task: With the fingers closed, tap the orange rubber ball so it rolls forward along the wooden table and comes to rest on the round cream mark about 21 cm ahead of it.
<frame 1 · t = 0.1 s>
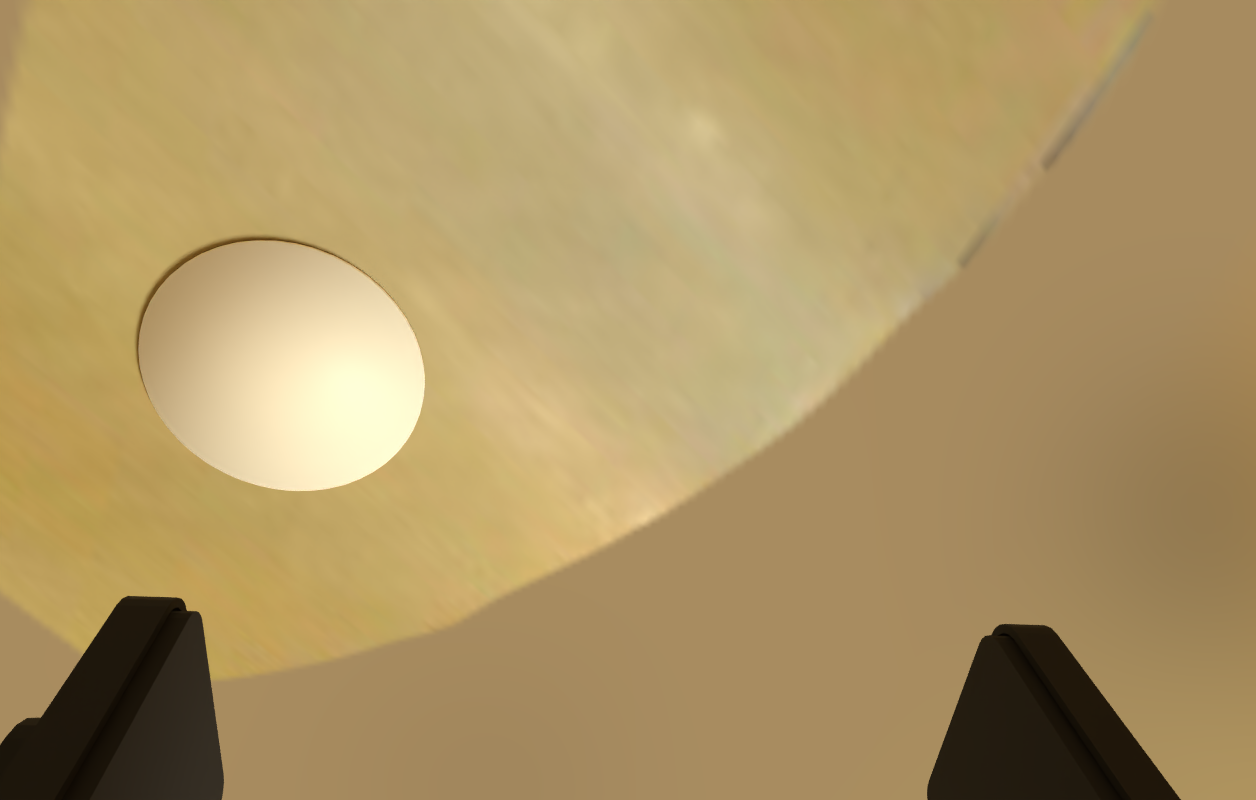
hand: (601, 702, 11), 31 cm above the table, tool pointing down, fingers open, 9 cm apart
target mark: (285, 373, 42), on the table
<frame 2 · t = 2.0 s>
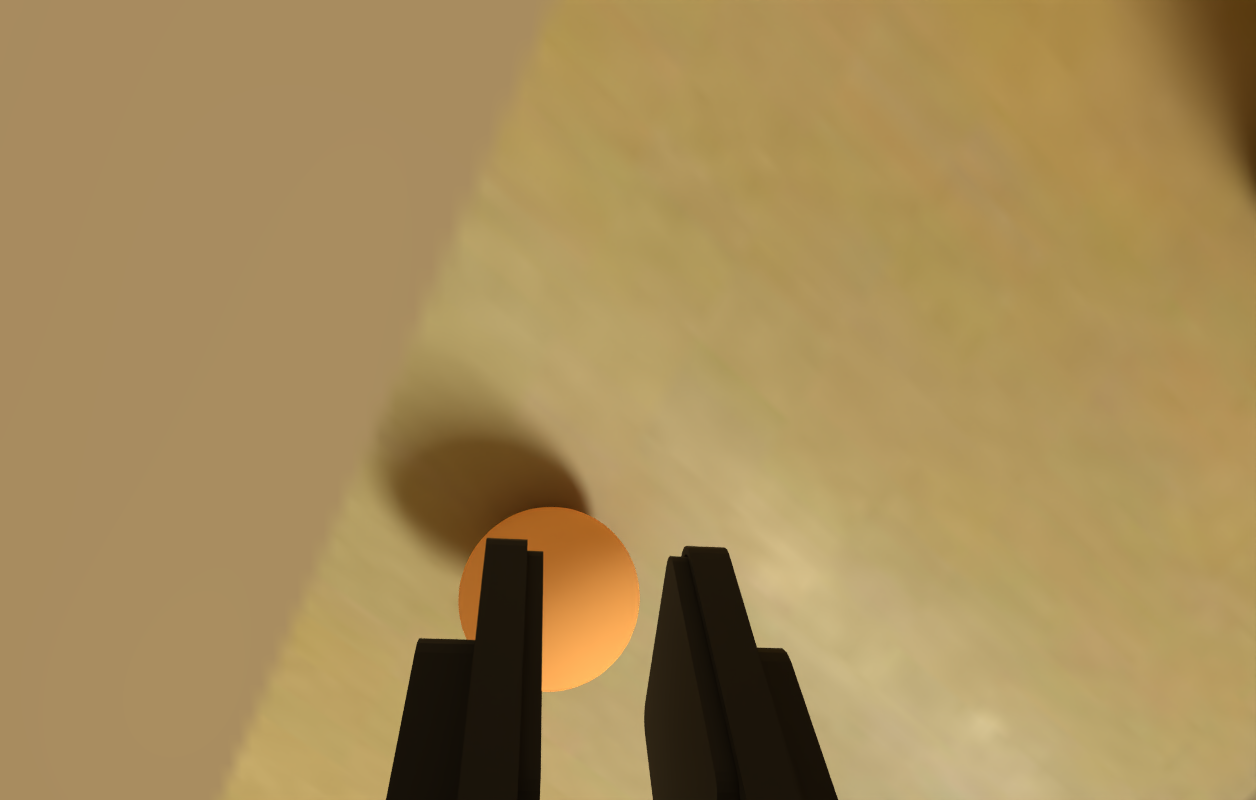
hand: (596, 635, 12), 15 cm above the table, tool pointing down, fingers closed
ball: (549, 597, 27), on the table
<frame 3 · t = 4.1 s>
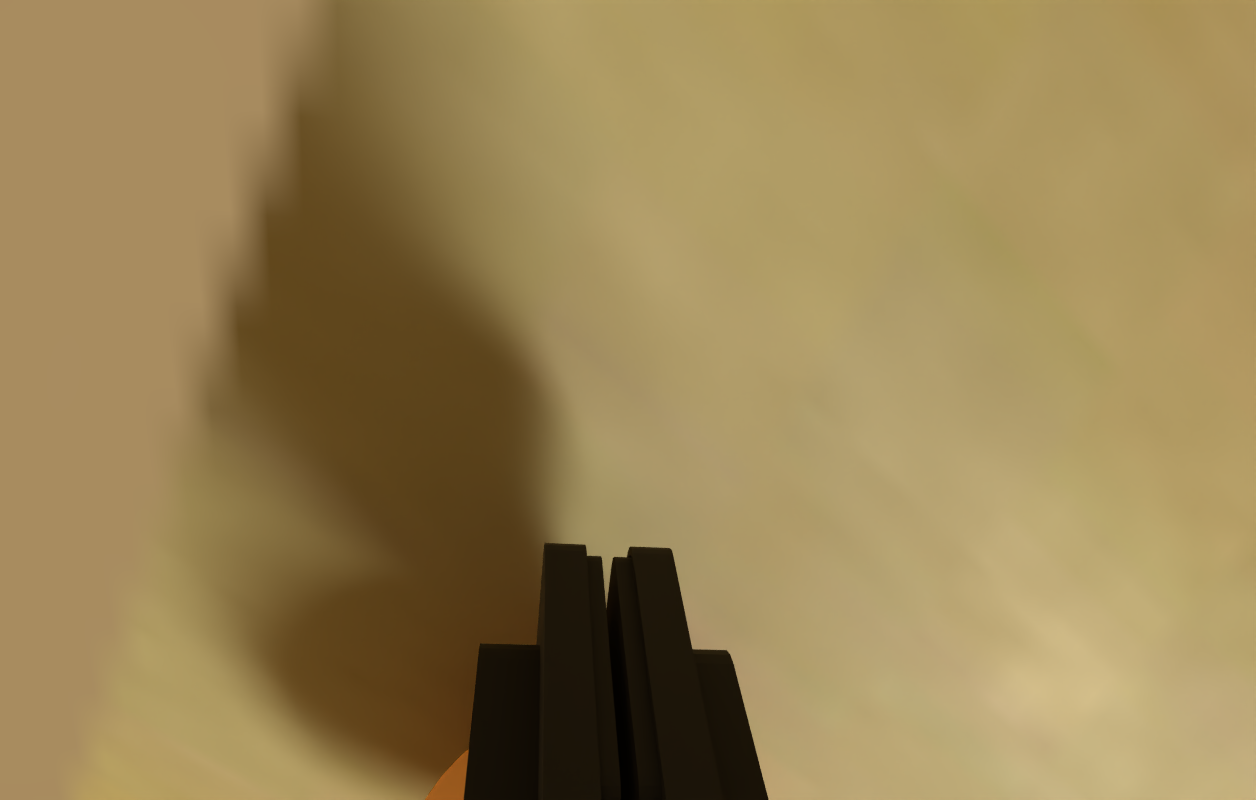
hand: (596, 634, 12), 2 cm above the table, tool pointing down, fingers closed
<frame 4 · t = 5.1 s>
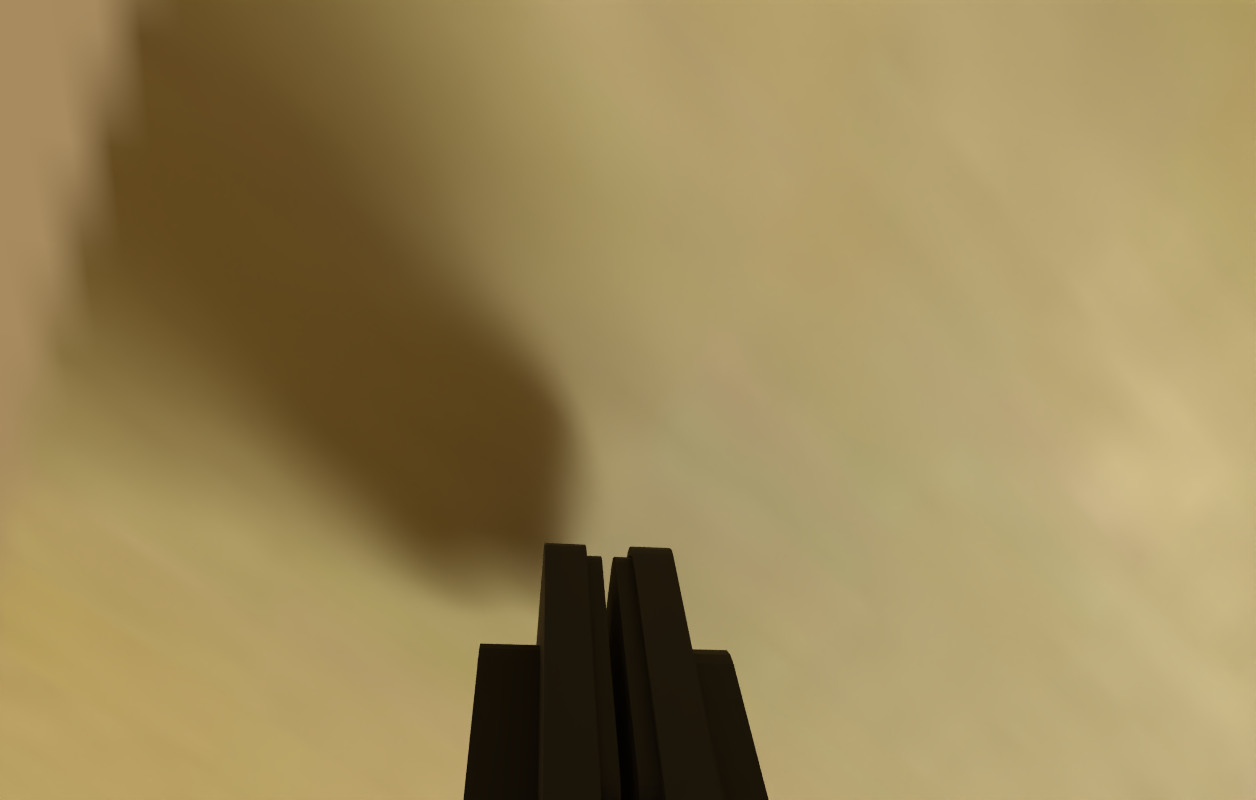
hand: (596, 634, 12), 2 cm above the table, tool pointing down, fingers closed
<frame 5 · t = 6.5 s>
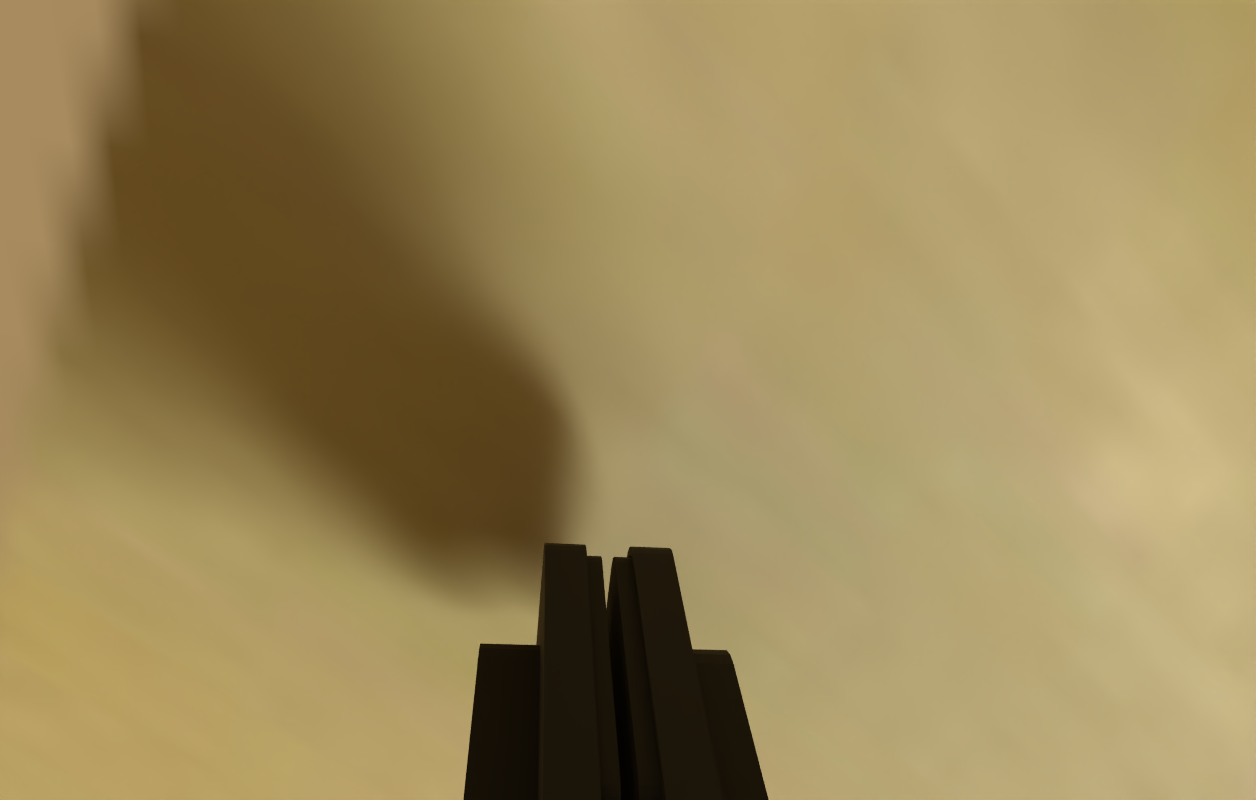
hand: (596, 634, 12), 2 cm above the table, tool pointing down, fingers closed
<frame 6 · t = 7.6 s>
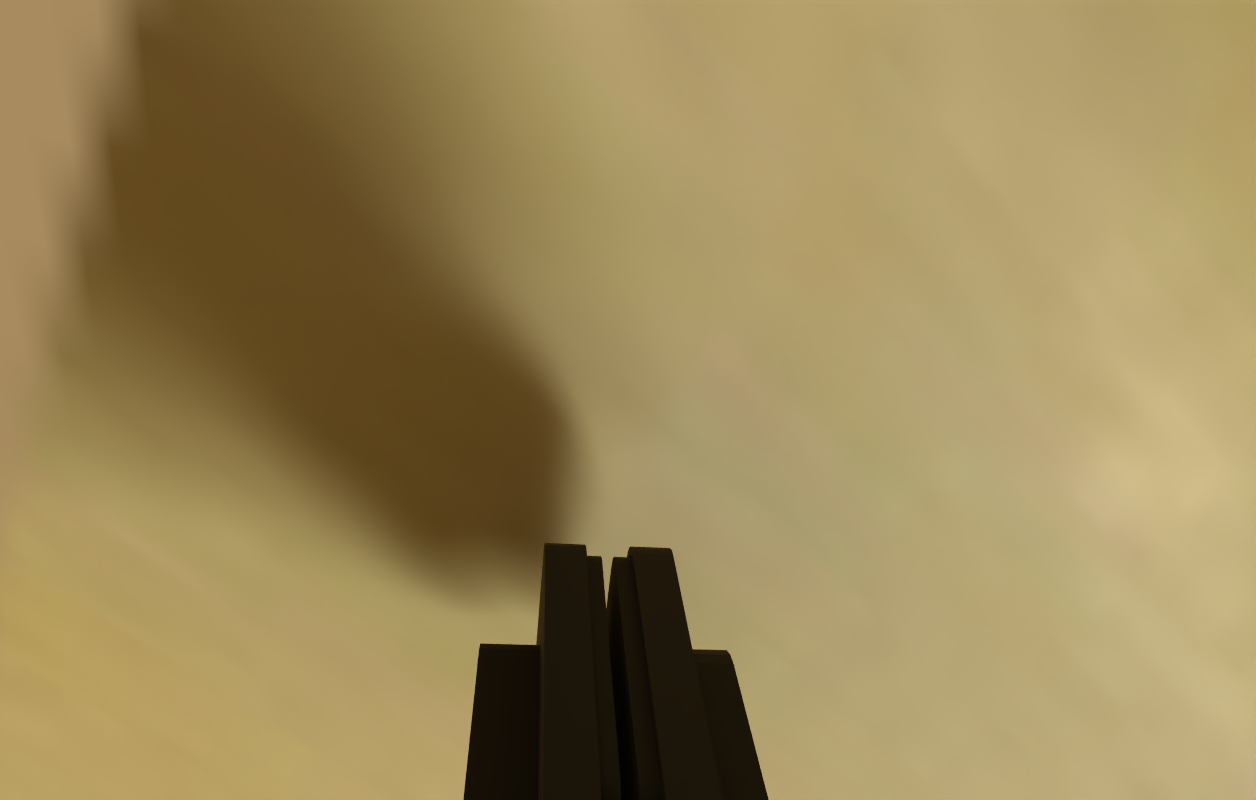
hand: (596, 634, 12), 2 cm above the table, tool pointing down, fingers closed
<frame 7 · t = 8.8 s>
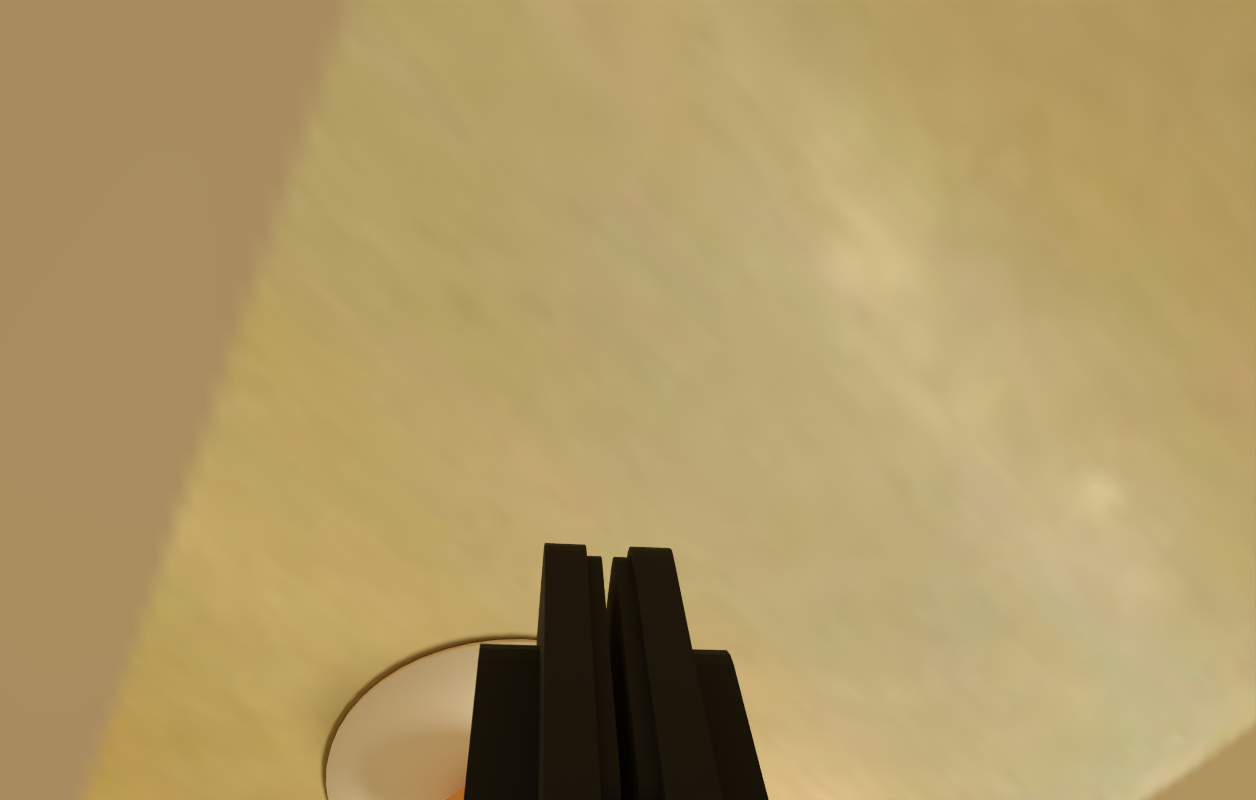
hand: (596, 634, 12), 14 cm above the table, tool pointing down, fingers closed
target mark: (512, 780, 32), on the table
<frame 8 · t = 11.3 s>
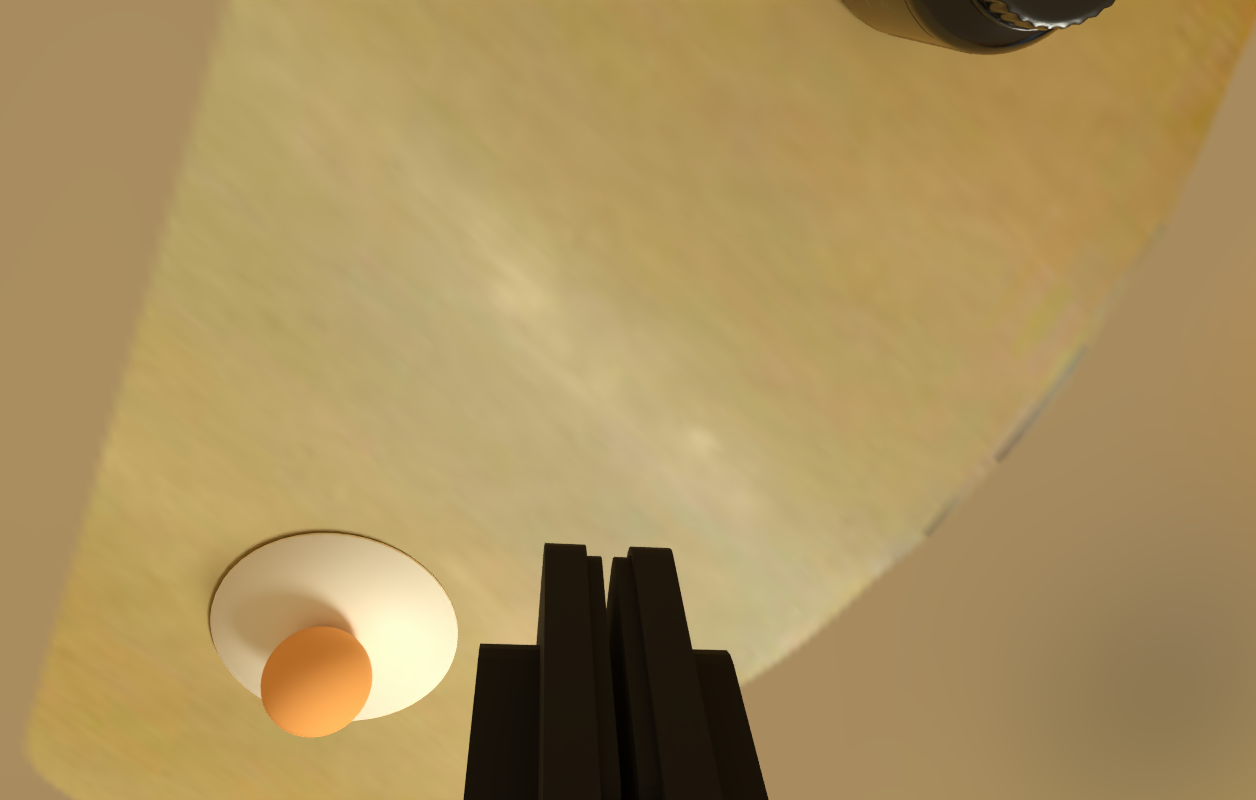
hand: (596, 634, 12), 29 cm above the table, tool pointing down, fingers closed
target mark: (336, 631, 48), on the table
ball: (317, 680, 46), on the table
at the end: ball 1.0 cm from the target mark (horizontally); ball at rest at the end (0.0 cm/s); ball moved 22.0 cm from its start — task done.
